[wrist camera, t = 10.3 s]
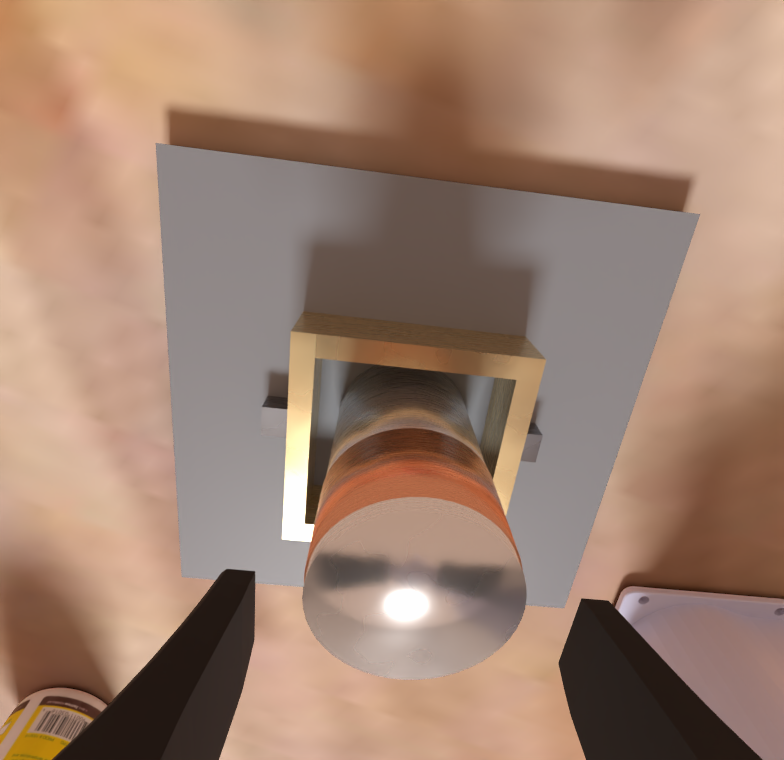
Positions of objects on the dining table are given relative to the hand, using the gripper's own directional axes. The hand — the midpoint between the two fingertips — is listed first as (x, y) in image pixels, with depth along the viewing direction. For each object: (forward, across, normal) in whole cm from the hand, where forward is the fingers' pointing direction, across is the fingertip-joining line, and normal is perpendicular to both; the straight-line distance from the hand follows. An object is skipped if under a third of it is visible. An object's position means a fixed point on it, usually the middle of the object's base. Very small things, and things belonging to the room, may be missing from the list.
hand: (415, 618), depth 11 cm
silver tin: (+9, 0, 0) cm, 9 cm away
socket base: (+10, 0, 0) cm, 10 cm away
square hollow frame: (+10, 0, 0) cm, 10 cm away
